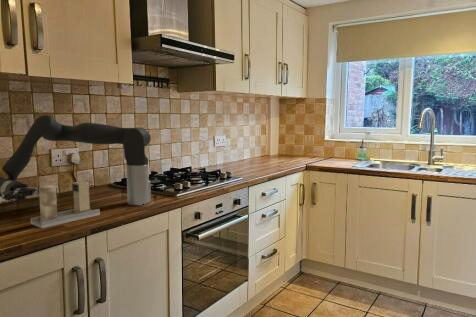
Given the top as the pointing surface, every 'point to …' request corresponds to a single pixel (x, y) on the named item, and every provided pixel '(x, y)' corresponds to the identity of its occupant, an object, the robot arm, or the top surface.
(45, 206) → the beige tall rectangular block
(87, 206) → the rail
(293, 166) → the top surface
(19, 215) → the top surface
